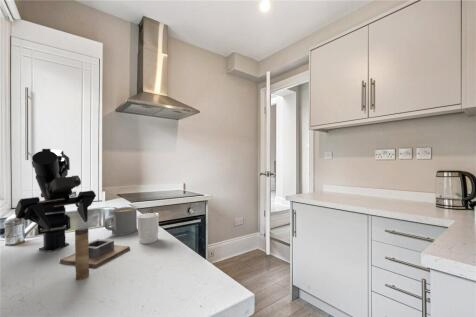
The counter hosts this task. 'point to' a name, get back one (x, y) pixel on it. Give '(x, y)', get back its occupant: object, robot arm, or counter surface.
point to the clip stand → (99, 253)
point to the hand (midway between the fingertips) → (69, 225)
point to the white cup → (148, 227)
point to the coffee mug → (122, 221)
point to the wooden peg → (81, 253)
